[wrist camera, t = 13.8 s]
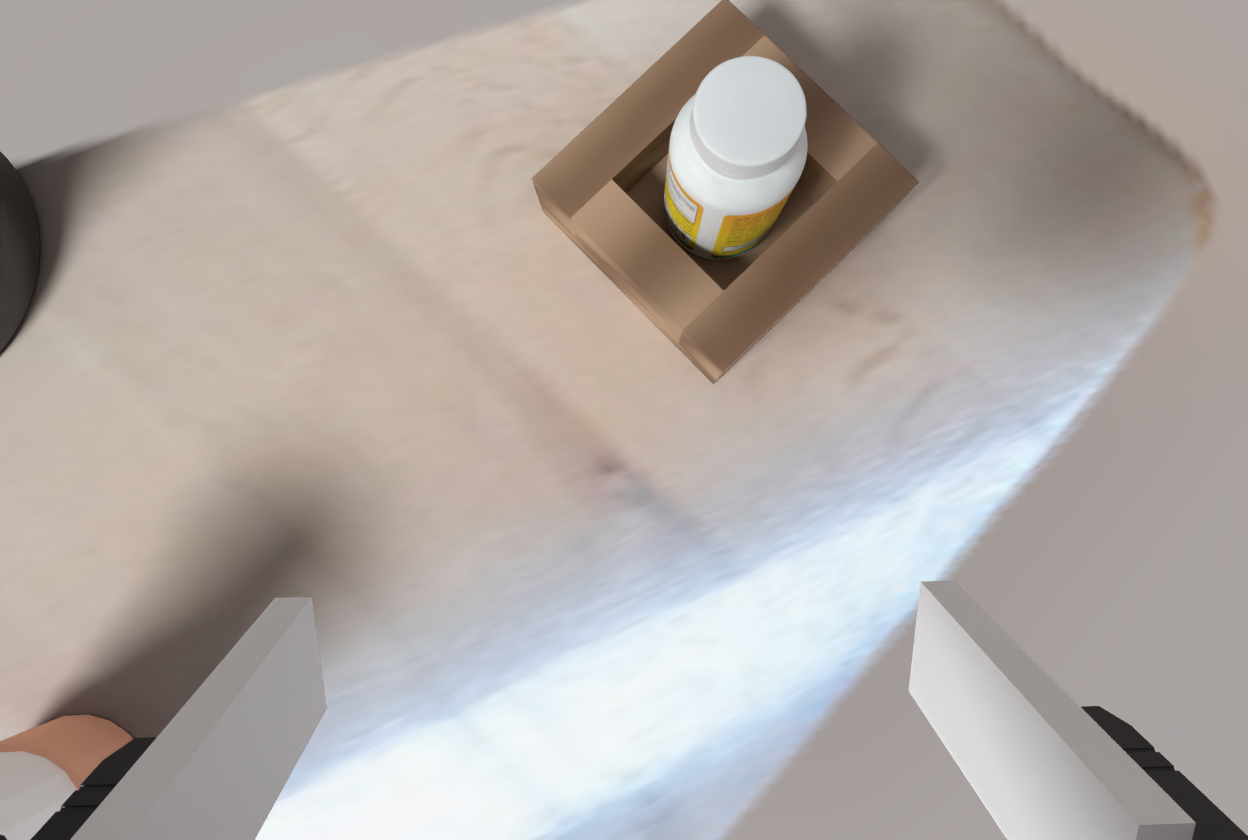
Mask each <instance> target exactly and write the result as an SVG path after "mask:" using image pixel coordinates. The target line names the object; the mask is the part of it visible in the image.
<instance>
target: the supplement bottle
mask: <svg viewBox="0 0 1248 840" xmlns="http://www.w3.org/2000/svg"><path fill="white" fill-rule="evenodd" d="M806 116H807V113H806V100H805V96H804V93H803V90H802V88H801V86H800V84H799V82H798V81H797V79H796V78H795V77H794V75H793V74H792V73H791V72H790V71H789V70H787V69H786V68H785V67H784V66H782V65H781V64H779V63H777V62H775V61H773V60H770V59H767V58H764V57H759V56H742V57H737V58H734V59H730V60H727V61H725V62H723V63H721V64H720V65H718V66H717V67H715V68H714V69H713V70H712V71H711V72H710V73H709V74H708V75H707V76H706V77H705V78H704V79H703V81H702V82H701V84H700V86H699V88H698V90H697V92H696V94H695V95H693V96H692V97H691V98H690V99H689V100H688V101H687V102H686V104H685V105H684V106H683V108H682V109H681V111H680V112H679V114H678V116H677V118H676V120H675V122H674V125H673V128H672V131H671V136H670V142H669V152H668V162H667V173H666V182H665V193H664V214H665V219H666V222H667V225H668V227H669V229H670V231H671V233H672V235H673V236H674V238H675V239H676V240H677V241H678V242H679V243H680V244H681V246H683V247H684V248H685V249H687V250H688V251H690V252H691V253H693V254H695V255H697V256H700V257H702V258H706V259H712V260H727V259H731V258H735V257H738V256H741V255H744V254H746V253H748V252H749V251H751V250H753V249H754V248H755V247H757V246H758V245H759V244H760V243H761V242H762V241H763V240H764V239H765V238H766V236H767V235H768V233H769V232H770V230H771V229H772V227H773V225H774V223H775V221H776V220H777V218H778V216H779V214H780V212H781V210H782V208H783V207H784V205H785V203H786V201H787V200H788V198H789V196H790V194H791V193H792V191H793V189H794V187H795V186H796V184H797V182H798V180H799V178H800V176H801V174H802V171H803V169H804V165H805V162H806V157H807V147H808V144H807V134H806V129H805V122H806Z"/></svg>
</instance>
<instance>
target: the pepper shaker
mask: <svg viewBox="0 0 1248 840" xmlns="http://www.w3.org/2000/svg"><path fill="white" fill-rule="evenodd" d="M131 740H133V738H132V737H131V735H130V734H128V733H127V732H126V731H124V730H123V729H121V728H120V727H119V726H117V725H116V724H114V723H113V722H111V721H109V720H106V719H102V718H99V717H95V716H92V715H88V714H87V715H68V716H62V717H60V718H57V719H54V720H52V721H49V722H47V723H44V724H42V725H39V726H37V727H34V728H32V729H29V730H27V731H24V732H22V733H20V734H17V735H15V736H12V737H10V738H7V739H5V740H2V741H0V835H4V836H5V837H6V839H7V840H31V838H32V837H33V836H34V835H35V834H36V833H37V832H38V831H39V830H40V829H41V827H42V826H43V825H44V824H45V823H46V822H47V821H48V820H49V819H50V818H51V816H52V815H53V814H54V813H55V812H56V811H60V809H61V805H62V804H63V803H64V802H65V801H66V800H67V799H68V798H69V797H70V796H71V795H72V793H73V792H74V791H75V790H79V788H80V785H81V784H82V782H83V781H84V780H85V779H86V778H87V777H88V776H89V775H90V774H91V773H92V771H93V770H94V769H95V768H96V767H97V766H98V765H99V764H100V763H101V762H102V760H104V759H105V758H107V757H108V756H110V755H111V754H112V753H114V752H115V751H117V750H118V749H120V748H121V747H123V746H124V745H126V744H127V743H128V742H130V741H131Z"/></svg>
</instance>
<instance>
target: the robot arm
mask: <svg viewBox="0 0 1248 840" xmlns="http://www.w3.org/2000/svg"><path fill="white" fill-rule="evenodd" d="M39 257H40V239H39V229H38V222H37V218H36V213H35V209H34V206H33V203H32V200H31V198H30V195H29V193H28V190H27V188H26V186H25V184H24V182H23V181H22V179H21V177H20V176H19V174H18V172H17V171H16V170H15V168H14V167H13V165H12V164H11V163H10V162H9V160H8V159H7V158H6V157H5V156H4V155H3V154H2V153H1V152H0V351H1V350H2V349H3V348H4V346H5V345H6V344H7V342H8V341H9V340H10V338H11V337H12V335H13V334H14V332H15V331H16V329H17V327H18V326H19V324H20V322H21V320H22V318H23V316H24V314H25V312H26V310H27V308H28V305H29V303H30V300H31V297H32V294H33V291H34V288H35V283H36V279H37V274H38V268H39ZM909 692H910V694H911V695H912V697H913V698H914V700H915V701H916V703H917V704H918V706H919V707H920V709H921V710H922V712H923V713H924V715H925V716H926V718H927V719H928V721H929V722H930V724H931V725H932V727H933V728H934V730H935V731H936V733H937V734H938V736H939V737H940V739H941V741H942V742H943V744H944V745H945V747H946V748H947V749H948V751H949V753H950V754H951V756H952V757H953V758H954V760H955V762H956V763H957V765H958V766H959V768H960V769H961V771H962V772H963V773H964V775H965V777H966V778H967V780H968V781H969V783H970V784H971V786H972V787H973V789H974V790H975V792H976V793H977V795H978V796H979V798H980V799H981V801H982V802H983V803H984V805H985V807H986V808H987V810H988V811H989V813H990V814H991V816H992V817H993V819H994V820H995V822H996V823H997V825H998V826H999V828H1000V829H1001V831H1002V832H1003V834H1004V835H1005V837H1006V838H1007V840H1248V836H1247V835H1246V834H1245V833H1244V832H1243V831H1242V830H1241V829H1240V828H1239V827H1238V826H1236V825H1235V824H1234V823H1233V822H1232V821H1231V820H1230V819H1229V818H1228V817H1227V816H1226V815H1225V814H1224V813H1223V812H1222V811H1221V810H1220V809H1218V807H1216V806H1215V805H1214V804H1213V803H1212V802H1211V801H1210V800H1209V799H1208V798H1207V797H1206V796H1205V795H1204V794H1203V793H1202V792H1201V791H1200V790H1198V789H1197V788H1196V787H1195V786H1194V785H1193V784H1192V783H1191V782H1190V781H1189V780H1188V779H1187V778H1186V777H1185V776H1184V775H1183V774H1182V773H1180V772H1179V771H1175V770H1174V766H1173V765H1172V764H1171V763H1170V762H1169V761H1168V760H1167V759H1166V758H1164V756H1163V755H1161V754H1160V753H1159V752H1155V750H1154V747H1153V746H1152V745H1151V744H1150V743H1149V742H1148V741H1147V740H1146V739H1144V738H1143V737H1142V736H1141V735H1140V734H1139V733H1138V732H1137V731H1136V730H1135V729H1134V728H1133V727H1132V726H1131V725H1129V724H1128V723H1126V722H1124V721H1123V720H1121V719H1119V718H1117V717H1116V716H1114V715H1113V714H1111V713H1109V712H1108V711H1106V710H1104V709H1102V708H1101V707H1099V706H1092V707H1090V706H1089V707H1080V706H1079V705H1078V704H1077V703H1076V702H1075V701H1074V700H1073V699H1072V698H1071V697H1070V696H1069V695H1068V694H1067V693H1066V692H1065V691H1064V690H1063V689H1062V688H1061V687H1060V686H1059V685H1058V684H1057V683H1056V682H1055V681H1054V680H1053V679H1052V678H1051V677H1050V676H1049V675H1048V674H1047V673H1046V672H1045V671H1044V670H1043V669H1042V668H1041V667H1040V666H1039V665H1038V664H1037V663H1036V662H1035V661H1034V660H1033V659H1032V658H1031V657H1030V656H1029V655H1028V654H1027V653H1026V652H1025V651H1024V650H1023V649H1022V647H1021V646H1020V645H1019V644H1018V643H1016V641H1014V639H1013V638H1011V636H1010V635H1009V634H1008V633H1006V632H1005V631H1004V629H1003V628H1002V627H1001V626H1000V625H999V624H998V623H997V622H996V621H995V620H994V619H993V618H992V617H991V616H990V615H989V614H988V613H987V612H986V611H985V610H984V609H983V608H982V607H981V606H980V605H979V604H978V603H977V602H976V601H975V600H974V599H973V598H972V597H971V596H970V595H969V594H968V593H967V592H966V591H965V590H964V589H963V588H962V587H961V586H960V585H959V584H958V583H957V582H956V581H931V582H921V585H920V594H919V603H918V611H917V620H916V629H915V638H914V648H913V656H912V665H911V674H910V684H909ZM326 709H327V707H326V699H325V692H324V684H323V677H322V670H321V662H320V655H319V647H318V640H317V632H316V625H315V618H314V610H313V603H312V597H283V598H274V600H273V601H272V602H271V603H270V604H269V605H268V607H267V608H266V609H265V610H264V611H263V613H262V614H261V615H260V616H259V617H258V618H257V620H256V621H255V622H254V623H253V624H252V626H251V627H250V628H249V629H248V630H247V631H246V633H245V634H244V635H243V636H242V637H241V639H240V640H239V641H238V642H237V643H236V644H235V646H234V647H233V648H232V649H231V650H230V652H229V653H228V654H227V655H226V656H225V657H224V659H223V660H222V661H221V662H220V663H219V665H218V666H217V667H216V668H215V669H214V670H213V672H212V673H211V674H210V675H209V676H208V678H207V679H206V680H205V681H204V682H203V683H202V685H201V686H200V687H199V688H198V689H197V691H196V692H195V693H194V694H193V695H192V696H191V698H190V699H189V700H188V701H187V702H186V704H185V705H184V706H183V707H182V708H181V709H180V711H179V712H178V713H177V714H176V715H175V717H174V718H173V719H172V720H171V721H170V722H169V724H168V725H167V726H166V727H165V728H164V730H163V731H162V732H161V733H160V734H159V735H158V737H152V738H134V739H133V740H131V741H130V742H128V743H127V744H126V745H124V746H123V747H121V748H120V749H118V750H117V751H115V752H114V753H112V754H111V755H110V756H108V757H107V758H105V759H104V760H102V762H101V763H100V764H99V765H98V766H97V767H96V768H95V769H94V770H93V771H92V773H91V774H90V775H89V776H88V777H87V778H86V779H85V780H84V781H83V782H82V784H81V785H80V788H79V790H75V791H74V792H73V793H72V795H71V796H70V797H69V798H68V799H67V800H66V801H65V802H64V803H63V804H62V805H61V809H60V811H56V812H55V813H54V814H53V815H52V816H51V818H50V819H49V820H48V821H47V822H46V823H45V824H44V825H43V826H42V827H41V829H40V830H39V831H38V832H37V833H36V834H35V835H34V836H33V837H32V838H31V840H255V838H256V836H257V834H258V832H259V831H260V829H261V827H262V825H263V823H264V822H265V820H266V818H267V816H268V814H269V812H270V811H271V809H272V807H273V805H274V803H275V802H276V800H277V798H278V796H279V794H280V792H281V791H282V789H283V787H284V785H285V783H286V781H287V780H288V778H289V776H290V774H291V772H292V771H293V769H294V767H295V765H296V763H297V761H298V760H299V758H300V756H301V754H302V752H303V751H304V749H305V747H306V745H307V743H308V741H309V740H310V738H311V736H312V734H313V732H314V731H315V729H316V727H317V725H318V723H319V721H320V720H321V718H322V716H323V714H324V712H325V710H326ZM0 840H7V839H6V837H5V836H4V835H0Z"/></svg>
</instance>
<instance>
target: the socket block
mask: <svg viewBox="0 0 1248 840" xmlns="http://www.w3.org/2000/svg"><path fill="white" fill-rule="evenodd" d="M742 56H759V57H764V58H767V59H770V60H773V61H775V62H777V63H779V64H781V65H782V66H784V67H785V68H786V69H787V70H789V71H790V72H791V73H792V74H793V75H794V77H795V78H796V79H797V81H798V82H799V84H800V86H801V88H802V90H803V93H804V96H805V100H806V113H807V116H806V122H805V129H806V134H807V144H808V147H807V157H806V162H805V165H804V169H803V171H802V174H801V176H800V178H799V180H798V182H797V184H796V186H795V187H794V189H793V191H792V193H791V194H790V196H789V198H788V200H787V201H786V203H785V205H784V207H783V208H782V210H781V212H780V214H779V216H778V218H777V220H776V221H775V223H774V225H773V227H772V229H771V230H770V232H769V233H768V235H767V236H766V238H765V239H764V240H763V241H762V242H761V243H760V244H759V245H758V246H757V247H755V248H754V249H753V250H751V251H749V252H748V253H746V254H744V255H741V256H738V257H735V258H731V259H727V260H712V259H706V258H702V257H700V256H697V255H695V254H693V253H691V252H690V251H688V250H687V249H685V248H684V247H683V246H681V244H680V243H679V242H678V241H677V240H676V239H675V238H674V236H673V235H672V233H671V231H670V229H669V227H668V225H667V222H666V219H665V214H664V193H665V182H666V173H667V162H668V152H669V142H670V136H671V131H672V128H673V125H674V122H675V120H676V118H677V116H678V114H679V112H680V111H681V109H682V108H683V106H684V105H685V104H686V102H687V101H688V100H689V99H690V98H691V97H692V96H693V95H695V94H696V92H697V90H698V88H699V86H700V84H701V82H702V81H703V79H704V78H705V77H706V76H707V75H708V74H709V73H710V72H711V71H712V70H713V69H714V68H715V67H717V66H718V65H720V64H721V63H723V62H725V61H727V60H730V59H734V58H737V57H742ZM532 181H533V184H534V187H535V189H536V192H537V195H538V198H539V201H540V204H541V207H542V210H543V212H544V213H545V214H546V215H547V216H548V217H549V218H550V219H551V220H552V221H553V222H554V223H555V224H556V225H557V226H558V227H559V228H560V229H561V230H562V231H563V232H564V233H565V234H566V235H567V236H568V237H569V238H570V239H571V240H572V241H573V242H574V243H575V244H576V245H577V246H578V248H579V249H580V250H581V251H582V252H583V253H584V254H585V255H586V256H587V257H588V258H589V259H590V260H591V261H592V262H593V263H594V264H595V265H596V266H597V267H598V268H599V269H600V270H601V271H602V272H603V273H604V274H605V275H606V276H607V277H608V278H609V279H610V280H611V281H612V282H613V283H614V284H615V285H616V286H617V287H618V288H619V289H620V290H621V291H622V292H623V293H624V294H625V295H626V296H627V297H628V298H629V299H630V300H631V301H632V302H633V303H634V304H635V305H636V306H637V307H638V308H639V309H640V310H641V311H642V312H643V313H644V314H645V315H646V316H647V317H648V318H649V319H650V320H651V321H652V322H653V323H654V324H655V325H656V326H657V327H658V328H659V329H660V330H661V331H662V332H663V333H664V334H665V336H666V337H667V338H668V339H669V340H670V341H671V342H672V343H673V344H674V345H675V346H676V347H677V348H678V349H679V350H680V351H681V352H682V353H683V354H684V355H685V356H686V357H687V358H688V359H689V360H690V361H691V362H692V363H693V364H694V365H695V366H696V367H697V368H698V369H699V370H700V371H701V372H702V373H703V374H704V375H705V376H706V377H707V378H708V379H709V380H710V381H711V382H712V383H713V384H714V383H715V382H716V381H717V380H718V379H719V378H720V377H721V376H722V375H723V374H724V373H725V372H727V371H728V370H729V369H730V368H731V367H732V366H733V365H734V364H735V363H736V362H737V361H738V360H739V359H740V358H741V357H742V356H743V355H744V354H745V353H746V352H747V351H748V350H749V349H750V348H751V347H752V346H753V345H754V344H755V343H756V342H757V341H758V340H760V339H761V338H762V337H763V336H764V335H765V334H766V333H767V332H768V331H769V330H770V329H771V328H772V327H773V326H774V325H775V324H776V323H777V322H778V321H779V320H780V319H781V318H782V317H783V316H784V315H785V314H786V313H787V312H788V311H789V310H790V309H792V308H793V307H794V306H795V305H796V304H797V303H798V302H799V301H800V300H801V299H802V298H803V297H804V296H805V295H806V294H807V293H808V292H809V291H810V290H811V289H812V288H813V287H814V286H815V285H816V284H817V283H818V282H819V281H820V280H821V279H822V278H824V277H825V276H826V275H827V274H828V273H829V272H830V271H831V270H832V269H833V268H834V267H835V266H836V265H837V264H838V263H839V262H840V261H841V260H842V259H843V258H844V257H845V256H846V255H847V254H848V253H849V252H850V251H851V250H852V249H853V248H854V247H855V246H857V245H858V244H859V243H860V242H861V241H862V240H863V239H864V238H865V237H866V236H867V235H868V234H869V233H870V232H871V231H872V230H873V229H874V228H875V227H876V226H877V225H878V224H879V223H880V222H881V221H882V220H883V219H884V218H885V217H886V216H887V215H888V214H889V213H890V212H891V211H892V210H893V209H894V208H895V207H896V206H897V205H898V204H899V203H900V202H901V201H902V200H903V199H904V197H905V196H906V195H907V194H908V193H909V192H910V191H911V190H912V189H913V188H914V187H915V186H916V185H917V184H918V183H919V182H918V181H917V180H916V179H915V178H914V177H913V176H912V175H911V174H910V173H909V172H908V171H907V170H906V169H905V168H904V167H903V166H902V165H901V164H900V163H899V162H897V161H896V160H895V159H894V158H893V157H892V156H891V155H890V154H889V153H888V152H887V151H886V150H885V149H884V148H883V147H882V146H881V145H880V144H879V143H878V142H877V141H875V140H874V139H873V138H872V137H871V136H870V135H869V134H868V133H867V132H866V131H865V130H864V129H863V128H862V127H861V126H860V125H859V124H858V123H857V122H856V121H855V120H853V119H852V118H851V117H850V116H849V115H848V114H847V113H846V112H845V111H844V110H843V109H842V108H841V107H840V106H839V105H838V104H837V103H836V102H835V101H834V100H833V99H831V98H830V97H829V96H828V95H827V94H826V93H825V92H824V91H823V90H822V89H821V88H820V87H819V86H818V85H817V84H816V83H815V82H814V81H813V80H812V79H811V78H810V77H808V76H807V75H806V74H805V73H804V72H803V71H802V70H801V69H800V68H799V67H798V66H797V65H796V64H795V63H794V62H793V61H792V60H791V59H790V58H789V57H788V56H786V55H785V54H784V53H783V52H782V51H781V50H780V49H779V48H778V47H777V46H776V45H775V44H774V43H773V42H772V41H771V40H770V39H769V38H768V37H767V36H766V35H764V34H763V33H762V32H761V31H760V30H759V29H758V28H757V27H756V26H755V25H754V24H753V23H752V22H751V21H750V20H749V19H748V18H747V17H746V16H745V15H744V14H743V13H741V12H740V11H739V10H738V9H737V8H736V7H735V6H734V5H733V4H732V3H731V2H730V1H729V0H722V1H721V2H720V3H719V4H718V5H717V6H715V7H714V8H713V9H712V10H711V11H710V12H709V13H708V14H707V15H706V16H705V17H704V18H703V19H702V20H700V21H699V22H698V23H697V24H696V25H695V26H694V27H693V28H692V29H691V30H690V31H689V32H688V33H687V34H686V35H684V36H683V37H682V38H681V39H680V40H679V41H678V42H677V43H676V44H675V45H674V46H673V47H672V48H671V49H670V50H668V51H667V52H666V53H665V54H664V55H663V56H662V57H661V58H660V59H659V60H658V61H657V62H656V63H655V64H653V65H652V66H651V67H650V68H649V69H648V70H647V71H646V72H645V73H644V74H643V75H642V76H641V77H640V78H639V79H637V80H636V81H635V82H634V83H633V84H632V85H631V86H630V87H629V88H628V89H627V90H626V91H625V92H624V93H622V94H621V95H620V96H619V97H618V98H617V99H616V100H615V101H614V102H613V103H612V104H611V105H610V106H609V107H608V108H606V109H605V110H604V111H603V112H602V113H601V114H600V115H599V116H598V117H597V118H596V119H595V120H594V121H593V122H591V123H590V124H589V125H588V126H587V127H586V128H585V129H584V130H583V131H582V132H581V133H580V134H579V135H578V136H577V137H575V138H574V139H573V140H572V141H571V142H570V143H569V144H568V145H567V146H566V147H565V148H564V149H563V150H562V151H560V152H559V153H558V154H557V155H556V156H555V157H554V158H553V159H552V160H551V161H550V162H549V163H548V164H547V165H546V166H544V167H543V168H542V169H541V170H540V171H539V172H538V173H537V174H536V175H535V176H534V177H533V178H532Z"/></svg>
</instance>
